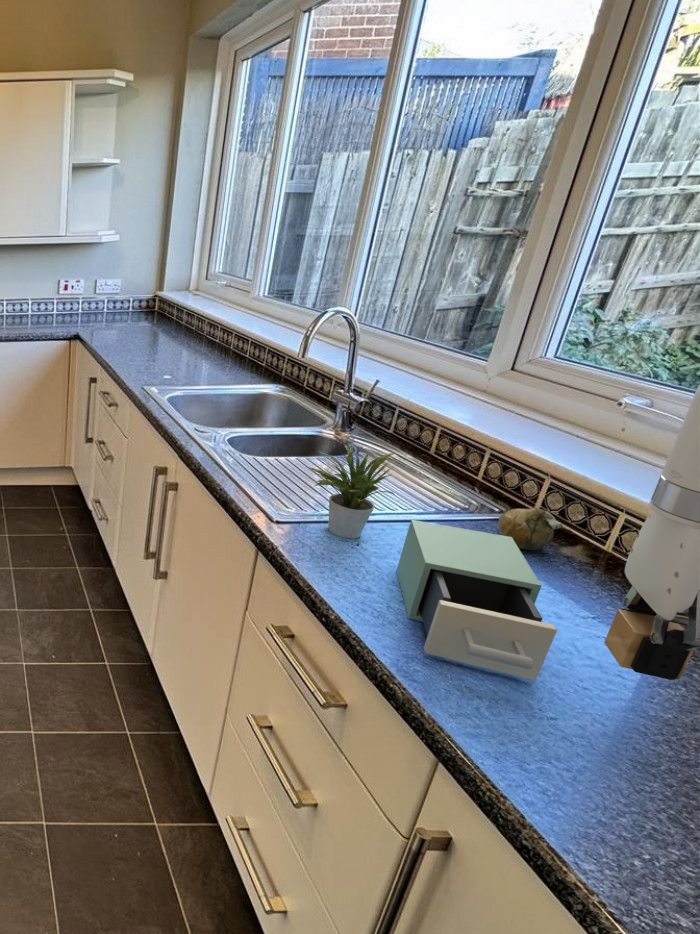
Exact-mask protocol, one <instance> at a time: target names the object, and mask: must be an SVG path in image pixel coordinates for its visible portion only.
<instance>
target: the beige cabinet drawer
mask: <svg viewBox="0 0 700 934" xmlns="http://www.w3.org/2000/svg"><path fill="white" fill-rule="evenodd" d="M419 608H420V612H421V615H422V619H423V622H422V623H423V626H424V630H425V632H426V639H425V643H424V644H423V651H424V653H425V654H426V655H430V656H435V657H440V658H444V659H447V660H451V661H455V662H459V663H463V664H467V665H471V666H475V667H478V668H483V669H487V670H490V671H494V672H499V673H502V674H507V675H511V676H515V677H518V678H523V679H526V680H531V681H534V682H536V681H537V679H538V677H539V675H540V673H541V670H542V667H543V665H544V663H545V660H546V657H547V655H548V653H549V651H550V648H551V645H552V643H553V641H554V638H555V636H556V634H557V632H558V629H557V628H556V626H555V624H552V623H549V622H548V623H547V622H543V617H542V615H541V613H540V611H539V610H538V608H537V606H536V603H535V604H534V603H533V601H532V599H531V597H530V596H529V594H528V592H527V590H526V589H525V587H520V586H515V585H510V584H505V583H500V582H495V581H490V580H485V579H480V578H475V577H470V576H465V575H460V574H455V573H450V572H445V571H440V570H435V569H431V570H430V573H429V576H428V579H427V582H426V586H425V589H424V592H423V595H422V598H421V601H420V605H419Z"/></svg>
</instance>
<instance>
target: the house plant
mask: <svg viewBox="0 0 700 934" xmlns="http://www.w3.org/2000/svg"><path fill="white" fill-rule="evenodd" d="M344 448H345V450H346V453H347V455H346V454H345V453H342V455H343V456H344V458H345V460H346V463H347V465H348V469H349V474H348V473H347V471H346V470H345V469H346V468H344V466H343V465H342V463H340V461H339V460H338V459H337V458H335V457H334V456H333V455H330V454H328V453H326V452H323V451H319V450H315V449H314V450H315V452H318V453H320V454H323V455H325V456H324V458H325V459H328V460H330V461H332V462H336V464H335V463H332V462H330V461H327V463H328V464H332V465H333V466H334V467H335V469H336V470H337V471H338V473H334V474H331V473H329V472H327V471H324V470H322V469H318V468H314V467H310V466H309V467H308V468H309V469H310V470H312V471H314V474H315V475H318V476H321V477H322V478H323V479H318V480H316V481H314V484H315V483H316V484H315V485H314V487H317V486H331V487H332V488H333V489H334V490H335V492H337V493H335V494H334V493H333V494H332V495H330V496H329V497H328V521H327V523H328V525H327V526H328V527H327V529H328V531H329V532H330V533H331V534H333V535H335V536H337V537H339V538H344V539H351V540H352V539H359V538H360V536H361V534H362V533H363V530H364V528H365V526H366V525H367V523H368V520H369V519H370V516H371V515H372V514H373V513H372V512H373V511H374V509H375V504H374V503H373V502H372V501H371V500H369V499H367V498H368V497H370V496H371V495H374V494H377V493H379V494H380V493H388V494H391V495H393V496H394V497H396V494H395V493H394V492H392V491H389V490H381V491H377V490H378V489H380V487H379V486H377V484H381V483H382V480H385V478H388V477H391V476H392V474H388V472H390V470H392V469H393V468H394V467H395V465H393V466H391V467H390V468H388V469H387V470H386V471H384V472H383V473H382V474H381V475H379V474H380V473H381V472H382V471H383V470H384V469H386V467H387V466H388V465H389V464H390V463H391V460H389V461H387V460H388V459H389V458H390V457H392V456H393V455H395V454H396V452H391V453H387V454H385V455H381V456H378V457H376V458H374V459H373V460H371V461H370V462H369V463H368V464H367V462H368V459H369V453H367V454H365V456H364V458H363V459H362V460H361V462H360V457H359V456H358V454H357V453H354V454H353V452H352V450H351V449H350V448H349V446H347V445H346V444H344ZM354 456H355V461H354ZM386 461H387V462H386ZM354 462H355V463H354ZM385 462H386V463H385ZM383 463H385V464H383ZM337 465H338V466H337ZM381 465H382V466H381ZM380 466H381V467H380ZM339 467H340V468H339ZM379 467H380V468H379ZM377 469H378V470H377ZM386 474H387V475H386ZM378 475H379V476H378ZM377 476H378V477H377ZM376 477H377V478H376Z"/></svg>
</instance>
